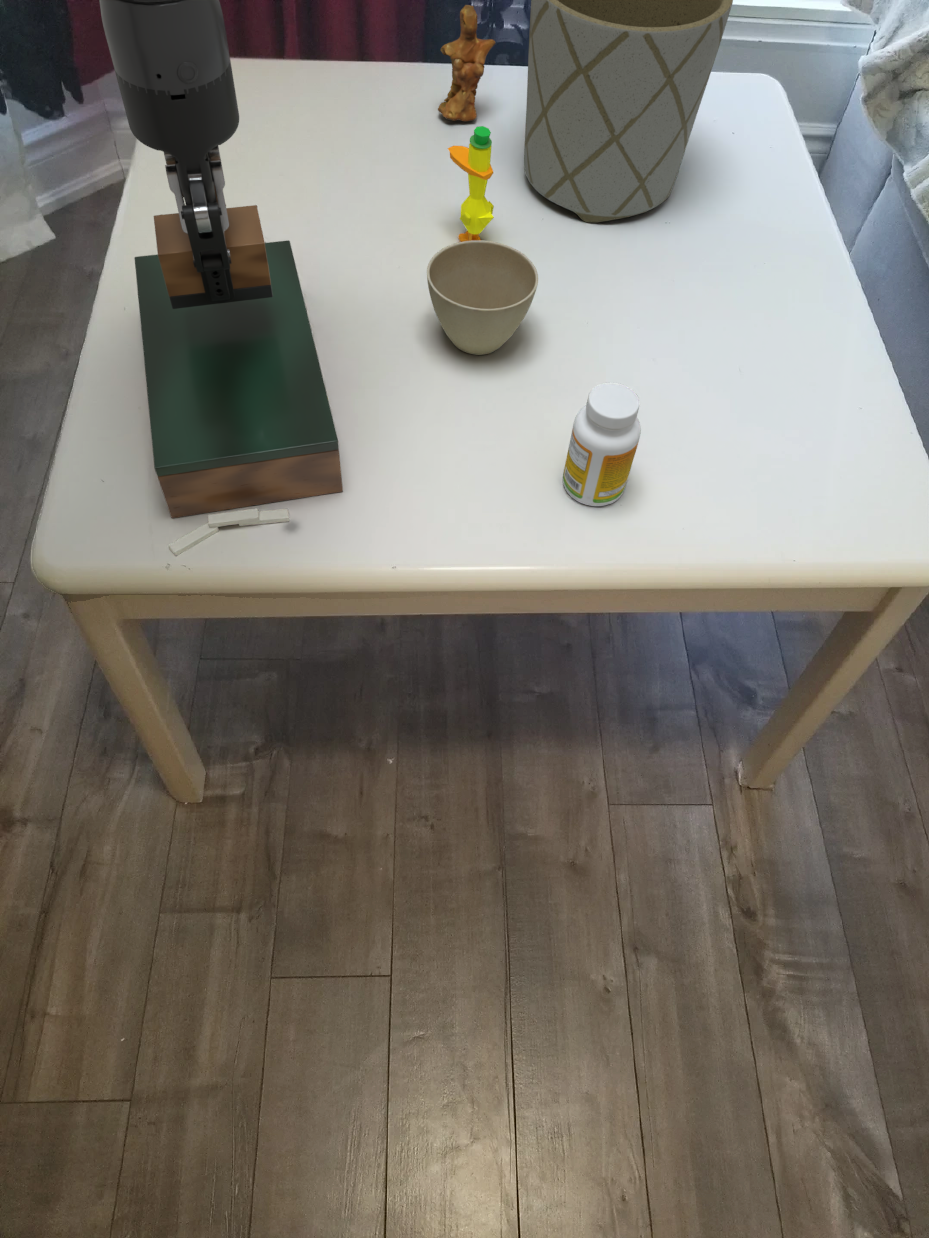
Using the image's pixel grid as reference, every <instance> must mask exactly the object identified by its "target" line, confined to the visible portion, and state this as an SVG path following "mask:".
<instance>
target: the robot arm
mask: <svg viewBox="0 0 929 1238" xmlns="http://www.w3.org/2000/svg"><path fill="white" fill-rule="evenodd" d="M99 7H100V8H99V9H100V15H101V16H100V17H101V21H102V26H103V31H104V36H105V39H106V42H107V46H108V50H109V54H110V57H111V62H112V65H113V68H114V73H115V77H116V82H117V84H118V88H119V93H120V97H121V100H122V104H123V108H124V111H125V115H126V119H127V123H128V126H129V130H130V131H131V134H132V135H133V136H134V137H135V139H137V141H139V142H140V143H141V144H143V145H144V146H146V147H147V148H150V149H152V150H155V151H160V152H163V156H164V161H165V165H164V168H165V174H166V177H167V183H168V187H169V190H170V191H171V192H172V194H174V198H175V202H176V207H177V213H179V217H180V222H181V226H182V230H183V231H184V232H185V233H187V234H188V236H189V241H190V245H191V249H192V253H193V258H194V261H193V264H194V268H196V269H197V272H198V273H199V272H201V277H202V281H203V286H204V290H205V294H206V299H207V301H208V302H210V303H220V302H229V301H232V300H233V299H234V298H235V294H234V289H233V284H232V279H231V273H230V264H232V263H231V258H230V257H228V256H230V251H229V249H228V250H227V246H226V241H225V235H224V231H225V230H226V229H228V227H229V220H228V215H227V209H226V208H227V204H226V199H225V194H224V188H225V186H226V180H225V175H224V169H223V164H222V158H221V152H220V147H219V146H221V145H224V144H225V143H226V142H228V141H229V140H230V139H231V138H232V137H233V136H234V134H235V133H236V132H237V130H238V128H239V124H240V112H239V106H238V105H239V104H238V100H237V93H236V88H235V87H236V86H235V81H234V80H235V79H234V75H233V67H232V61H231V55H230V49H229V42H228V36H227V31H226V23H225V19H224V14H223V8H222V6H221V2H220V0H99Z"/></svg>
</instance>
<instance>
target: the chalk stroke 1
mask: <svg viewBox="0 0 929 1238" xmlns="http://www.w3.org/2000/svg"><path fill="white" fill-rule="evenodd" d="M217 533H219V527H212V528H210V527H209V525H208V522H206V523H204V524H202V525H200V526H199V527H197V528H195V529H194V530H192V531H190V532H189V533H187V534H185V535H183V536H182V537H180V538H178V539H176V540H175V541H172V542H171V543H169V544H168V549H169V550H170V552H171V553H172V554H173V555H174V556H175V557H177V556H179V555H182V554H183V553H184V552H186V551H188V550H189V549H191V548H193V547H195V546H196V545H198V544H199V543H201V542H203V541H205V540H207V539H208V538H210V537H212V536H214V535H215V534H217Z"/></svg>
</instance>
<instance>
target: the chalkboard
mask: <svg viewBox="0 0 929 1238" xmlns="http://www.w3.org/2000/svg"><path fill="white" fill-rule="evenodd" d="M265 248H266V254H267V261H268V267H269V274H270V280H271V286H272V293H273V297H270V298H261V299H253V300H245V301H236V302H228V303H220V304H211V305H203V306H194V307H186V308H178V309H173V308H172V305H171V302H170V298H169V294H168V291H167V287H166V283H165V280H164V276H163V272H162V268H161V265H160V261H159V257H158V253H157V254H148V255H139V256H134V267H135V268H134V269H135V277H136V278H135V279H136V288H137V297H138V299H137V300H138V309H139V311H138V312H139V319H140V320H139V322H140V329H141V340H142V341H141V342H142V350H143V353H142V354H143V362H144V363H143V364H144V372H145V374H144V375H145V381H146V382H145V384H146V392H147V403H148V404H147V405H148V415H149V425H150V434H151V436H150V437H151V447H152V455H153V456H152V458H153V467H154V471H155V474H156V477H157V480H158V483H159V485H160V486H159V487H160V488H161V491H162V494H163V497H164V500H165V503H166V507H167V508H168V512H169V514H170V518H171V519H175V518H181V517H182V518H183V517H189V516H196V515H201V514H202V515H203V514H208V513H213V512H214V513H215V512H221V511H226V510H234V509H239V508H246V507H252V506H260V505H264V504H266V505H267V504H271V503H278V502H284V501H291V500H297V499H302V498H310V497H317V496H323V495H329V494H335V493H341V492H343V491H344V490H343V479H342V478H343V477H342V468H341V457H340V444H339V438H338V435H337V431H336V427H335V422H334V418H333V414H332V409H331V406H330V402H329V397H328V394H327V393H328V392H327V390H326V384H325V380H324V377H323V373H322V369H321V364H320V361H319V356H318V352H317V348H316V344H315V339H314V336H313V332H312V328H311V323H310V318H309V314H308V310H307V307H306V303H305V298H304V294H303V290H302V286H301V281H300V278H299V273H298V269H297V265H296V260H295V257H294V253H293V249H292V244H291V241H290V240H288V239H287V240H279V241H269V242H265Z"/></svg>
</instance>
